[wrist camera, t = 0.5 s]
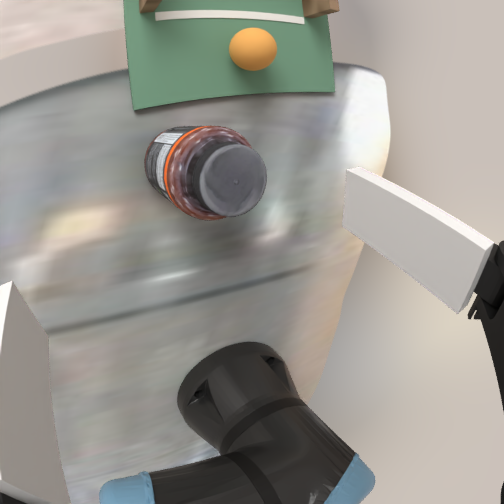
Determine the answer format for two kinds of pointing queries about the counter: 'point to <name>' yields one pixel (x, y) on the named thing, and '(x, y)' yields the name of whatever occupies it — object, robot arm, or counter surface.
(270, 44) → the ball
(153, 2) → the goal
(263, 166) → the supplement bottle
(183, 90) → the pitch mat
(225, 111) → the counter surface
